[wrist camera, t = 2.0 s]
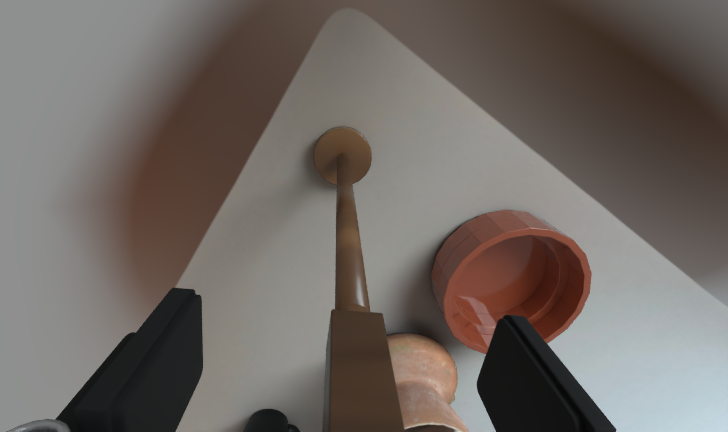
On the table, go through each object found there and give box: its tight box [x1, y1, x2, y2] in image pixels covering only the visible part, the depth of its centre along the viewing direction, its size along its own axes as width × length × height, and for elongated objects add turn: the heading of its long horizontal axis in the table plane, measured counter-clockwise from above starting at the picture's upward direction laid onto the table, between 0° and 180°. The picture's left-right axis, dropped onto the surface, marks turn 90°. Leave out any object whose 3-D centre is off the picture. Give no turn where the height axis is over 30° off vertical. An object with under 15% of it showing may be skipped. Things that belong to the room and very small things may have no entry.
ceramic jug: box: [387, 333, 469, 432], centre depth 41 cm, size 18×14×14 cm
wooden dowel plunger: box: [314, 126, 405, 432], centre depth 22 cm, size 6×6×32 cm
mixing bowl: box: [431, 210, 591, 354], centre depth 41 cm, size 17×17×6 cm
